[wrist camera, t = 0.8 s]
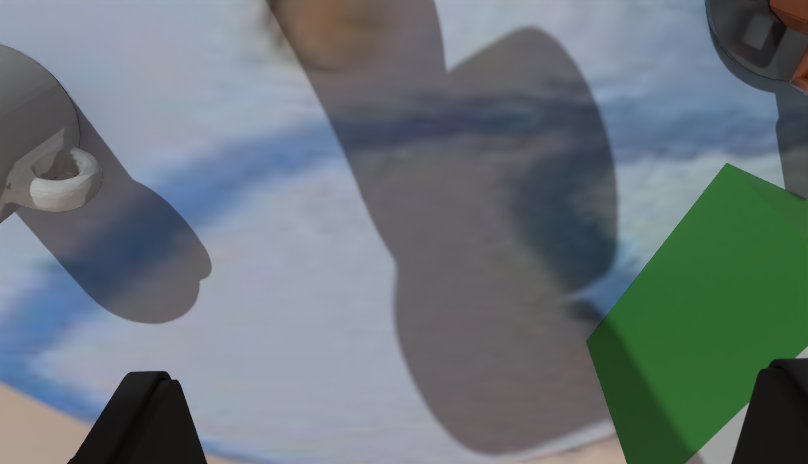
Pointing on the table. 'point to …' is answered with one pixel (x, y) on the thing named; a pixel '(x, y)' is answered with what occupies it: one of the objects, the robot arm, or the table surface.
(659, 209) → the table surface
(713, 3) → the saucer
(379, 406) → the table surface
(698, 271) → the hardback book
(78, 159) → the coffee mug
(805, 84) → the wooden mug
